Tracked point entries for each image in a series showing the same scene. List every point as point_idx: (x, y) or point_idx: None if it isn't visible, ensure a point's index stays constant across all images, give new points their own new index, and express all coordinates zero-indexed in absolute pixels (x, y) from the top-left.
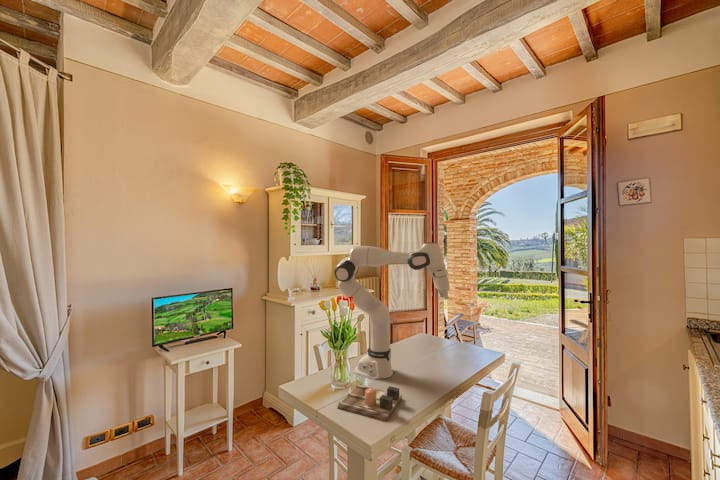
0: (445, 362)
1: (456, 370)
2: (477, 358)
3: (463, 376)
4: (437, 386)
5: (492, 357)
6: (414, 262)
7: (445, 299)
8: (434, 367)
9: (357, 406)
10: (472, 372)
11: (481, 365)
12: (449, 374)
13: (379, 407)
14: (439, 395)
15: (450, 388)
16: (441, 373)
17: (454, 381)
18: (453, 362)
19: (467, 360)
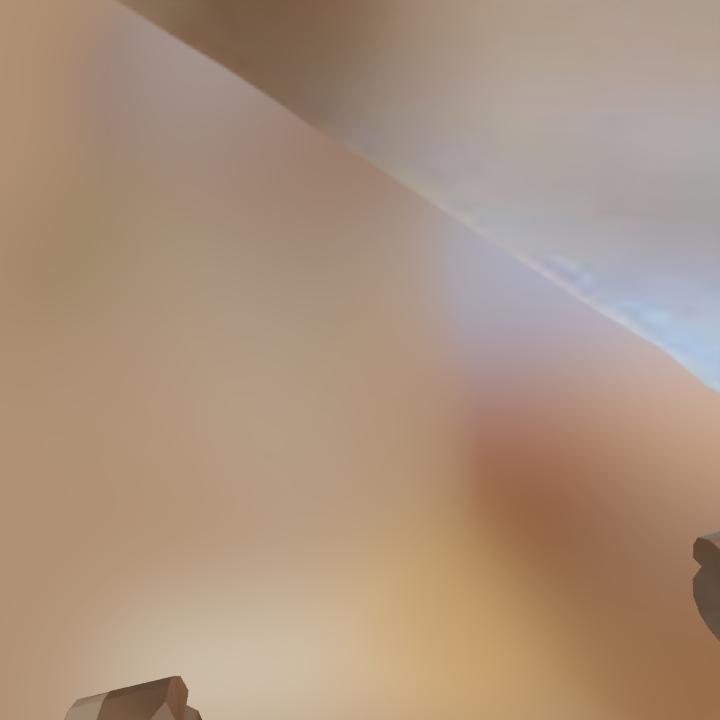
0: (686, 98)
1: (557, 168)
2: (717, 297)
3: (475, 204)
4: (310, 28)
5: (716, 367)
6: None
7: (82, 709)
8: (608, 8)
9: None
10: (530, 256)
11: (620, 308)
12: (497, 120)
13: None
14: (190, 41)
15: (304, 118)
16: (509, 63)
17: (402, 147)
18: (679, 155)
19: (697, 242)
